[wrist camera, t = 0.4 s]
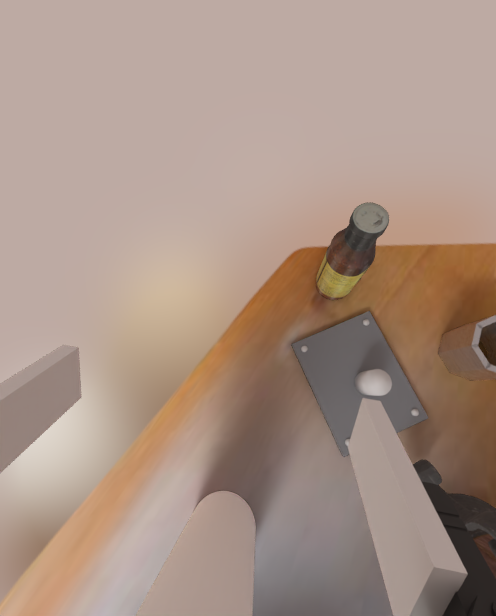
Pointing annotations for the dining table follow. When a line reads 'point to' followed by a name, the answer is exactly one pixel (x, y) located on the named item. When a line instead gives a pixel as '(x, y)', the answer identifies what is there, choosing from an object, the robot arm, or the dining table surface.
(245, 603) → the cylinder container
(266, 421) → the dining table surface
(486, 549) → the tankard
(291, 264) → the dining table surface
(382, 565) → the robot arm
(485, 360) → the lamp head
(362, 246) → the sauce bottle
